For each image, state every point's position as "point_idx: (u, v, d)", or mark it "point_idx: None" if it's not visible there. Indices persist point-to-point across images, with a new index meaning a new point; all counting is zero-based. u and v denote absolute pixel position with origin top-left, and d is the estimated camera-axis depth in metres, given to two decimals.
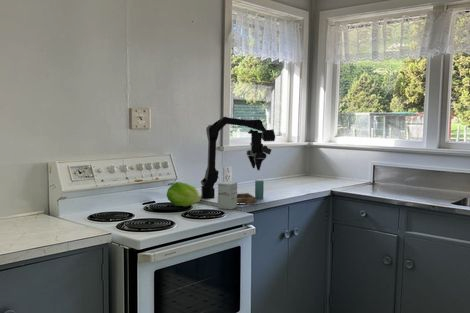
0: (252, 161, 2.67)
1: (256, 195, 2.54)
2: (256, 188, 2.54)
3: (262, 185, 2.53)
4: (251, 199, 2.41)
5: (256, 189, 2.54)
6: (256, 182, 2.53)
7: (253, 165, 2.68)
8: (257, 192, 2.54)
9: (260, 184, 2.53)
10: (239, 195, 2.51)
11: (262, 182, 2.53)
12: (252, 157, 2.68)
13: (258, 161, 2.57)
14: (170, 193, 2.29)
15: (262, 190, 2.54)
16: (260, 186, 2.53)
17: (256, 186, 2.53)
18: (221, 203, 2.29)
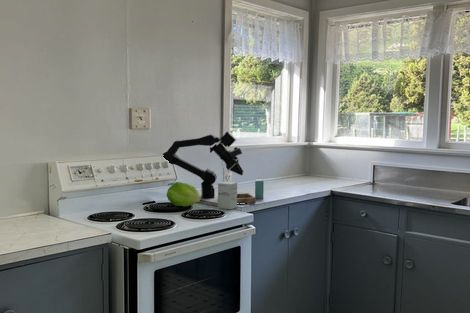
0: None
1: (256, 195, 2.54)
2: (256, 188, 2.54)
3: (262, 185, 2.53)
4: (251, 199, 2.41)
5: (256, 189, 2.54)
6: (256, 182, 2.53)
7: (240, 170, 2.60)
8: (257, 192, 2.54)
9: (260, 184, 2.53)
10: (239, 195, 2.51)
11: (262, 182, 2.53)
12: None
13: (235, 168, 2.49)
14: (170, 193, 2.29)
15: (262, 190, 2.54)
16: (260, 186, 2.53)
17: (256, 186, 2.53)
18: (221, 203, 2.29)
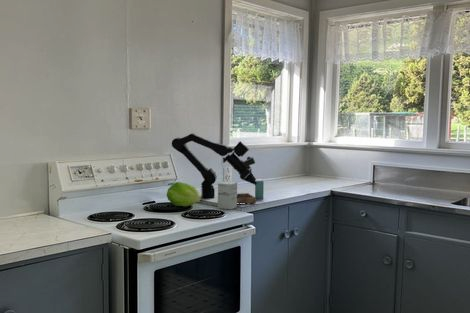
0: None
1: (256, 195, 2.54)
2: (256, 188, 2.54)
3: (262, 185, 2.53)
4: (251, 199, 2.41)
5: (256, 189, 2.54)
6: (256, 182, 2.53)
7: (253, 179, 2.60)
8: (257, 192, 2.54)
9: (260, 184, 2.53)
10: (239, 195, 2.51)
11: (262, 182, 2.53)
12: None
13: (249, 178, 2.49)
14: (170, 193, 2.29)
15: (262, 190, 2.54)
16: (260, 186, 2.53)
17: (256, 186, 2.53)
18: (221, 203, 2.29)
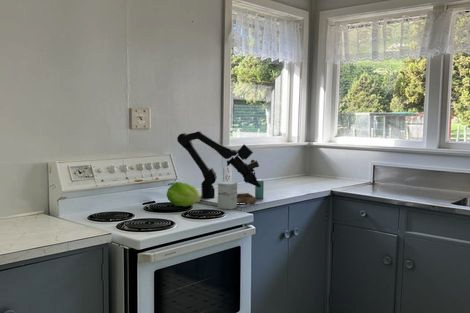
0: None
1: (256, 195, 2.54)
2: (256, 188, 2.54)
3: (262, 185, 2.53)
4: (251, 199, 2.41)
5: (256, 189, 2.54)
6: None
7: None
8: (257, 192, 2.54)
9: (260, 184, 2.53)
10: (239, 195, 2.51)
11: (262, 182, 2.53)
12: None
13: (252, 180, 2.52)
14: (170, 193, 2.29)
15: (262, 190, 2.54)
16: (260, 186, 2.53)
17: (256, 186, 2.53)
18: (221, 203, 2.29)
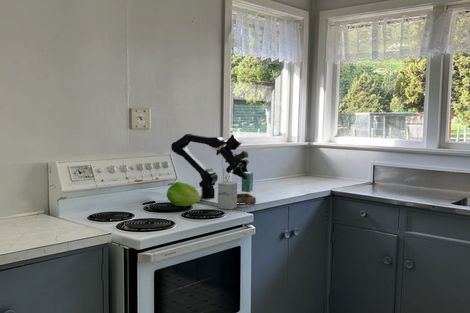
0: None
1: (242, 188, 2.46)
2: (242, 180, 2.45)
3: (248, 178, 2.44)
4: (251, 199, 2.41)
5: (242, 182, 2.45)
6: None
7: None
8: (243, 185, 2.45)
9: None
10: (239, 195, 2.51)
11: (248, 175, 2.44)
12: (241, 169, 2.50)
13: (238, 172, 2.44)
14: (170, 193, 2.29)
15: (248, 183, 2.44)
16: (247, 179, 2.44)
17: (242, 178, 2.45)
18: (221, 203, 2.29)
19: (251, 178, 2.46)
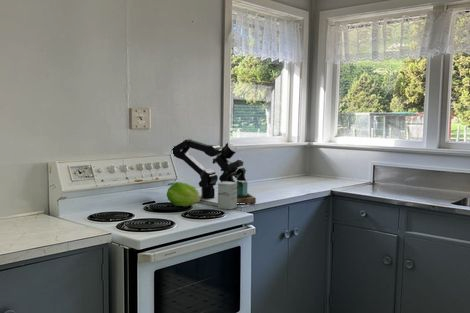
0: None
1: None
2: None
3: (241, 187, 2.42)
4: (251, 199, 2.41)
5: None
6: None
7: None
8: (237, 194, 2.44)
9: (239, 186, 2.43)
10: None
11: (241, 184, 2.42)
12: (239, 177, 2.51)
13: (230, 181, 2.41)
14: (170, 193, 2.29)
15: (241, 192, 2.42)
16: (240, 188, 2.43)
17: None
18: (221, 203, 2.29)
19: (245, 187, 2.44)
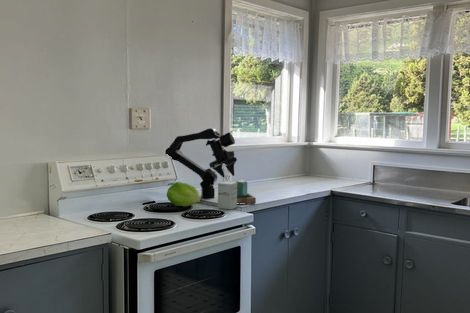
0: (219, 171, 2.59)
1: None
2: None
3: (241, 187, 2.42)
4: (251, 199, 2.41)
5: None
6: None
7: (222, 174, 2.59)
8: (237, 194, 2.44)
9: (239, 186, 2.43)
10: None
11: (241, 184, 2.42)
12: (218, 167, 2.59)
13: (230, 167, 2.50)
14: (170, 193, 2.29)
15: (241, 192, 2.42)
16: (240, 188, 2.43)
17: None
18: (221, 203, 2.29)
19: (245, 187, 2.44)
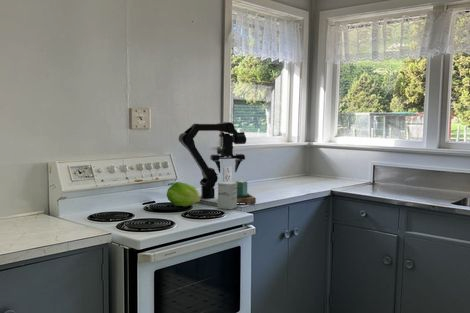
0: None
1: None
2: None
3: (241, 187, 2.42)
4: (251, 199, 2.41)
5: None
6: None
7: None
8: (237, 194, 2.44)
9: (239, 186, 2.43)
10: None
11: (241, 184, 2.42)
12: None
13: None
14: (170, 193, 2.29)
15: (241, 192, 2.42)
16: (240, 188, 2.43)
17: None
18: (221, 203, 2.29)
19: (245, 187, 2.44)
